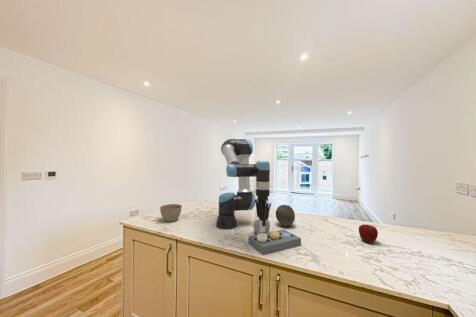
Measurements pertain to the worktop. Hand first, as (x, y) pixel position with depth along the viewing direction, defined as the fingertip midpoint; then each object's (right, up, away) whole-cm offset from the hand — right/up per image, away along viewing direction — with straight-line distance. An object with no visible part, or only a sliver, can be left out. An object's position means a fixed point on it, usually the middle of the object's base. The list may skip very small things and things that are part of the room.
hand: (262, 231), depth 108 cm
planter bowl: (-66, -8, +45) cm, 80 cm away
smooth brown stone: (+21, -9, +35) cm, 42 cm away
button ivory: (0, -6, 0) cm, 6 cm away
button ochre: (+7, -6, +4) cm, 10 cm away
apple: (+64, -10, +8) cm, 65 cm away
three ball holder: (+7, -9, +4) cm, 12 cm away
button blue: (+15, -8, +8) cm, 19 cm away
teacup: (+2, -9, +21) cm, 23 cm away
